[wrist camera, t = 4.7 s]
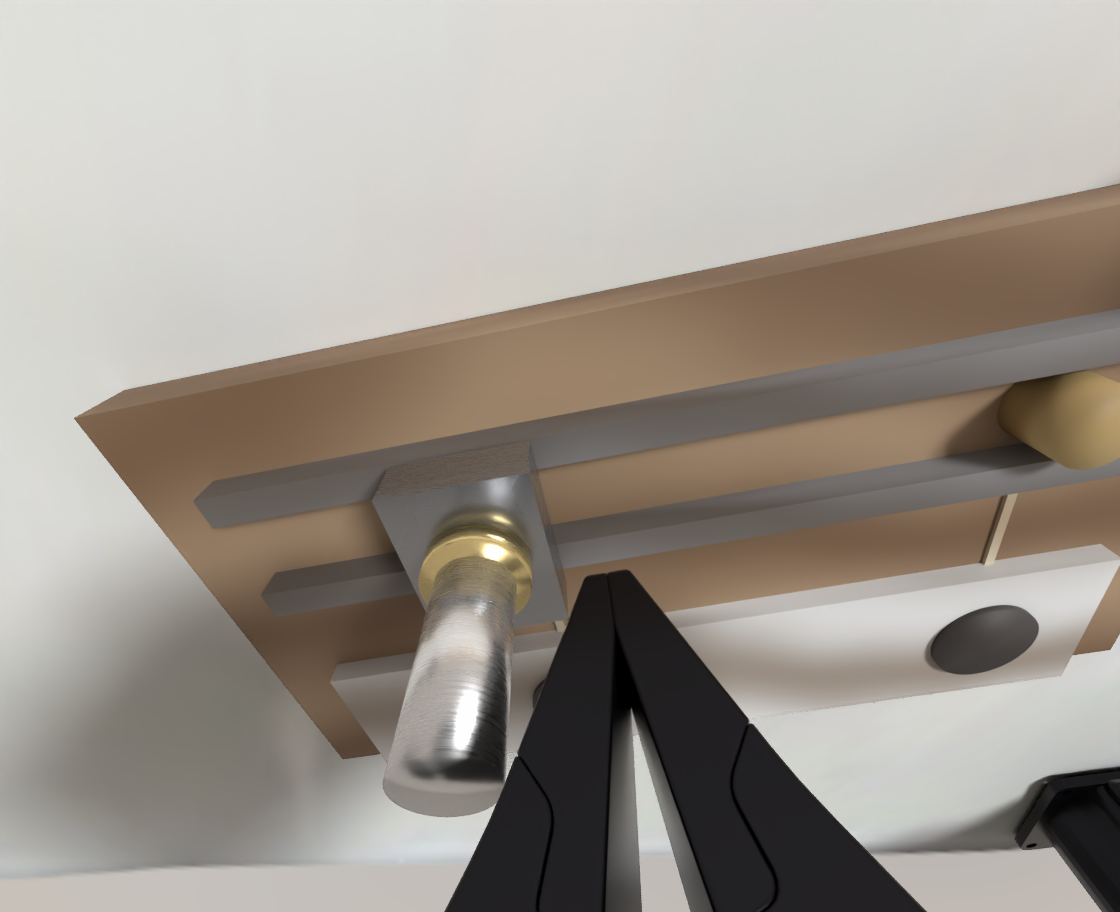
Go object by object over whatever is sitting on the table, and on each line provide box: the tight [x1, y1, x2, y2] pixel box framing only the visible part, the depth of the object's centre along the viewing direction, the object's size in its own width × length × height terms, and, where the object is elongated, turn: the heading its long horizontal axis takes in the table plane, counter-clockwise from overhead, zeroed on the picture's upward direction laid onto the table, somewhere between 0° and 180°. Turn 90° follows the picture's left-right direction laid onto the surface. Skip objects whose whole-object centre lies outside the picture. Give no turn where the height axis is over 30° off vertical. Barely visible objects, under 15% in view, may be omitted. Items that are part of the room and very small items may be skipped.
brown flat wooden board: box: [74, 184, 1120, 763], centre depth 13 cm, size 14×26×3 cm, turn 101°
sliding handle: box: [372, 441, 568, 817], centre depth 9 cm, size 4×3×5 cm
